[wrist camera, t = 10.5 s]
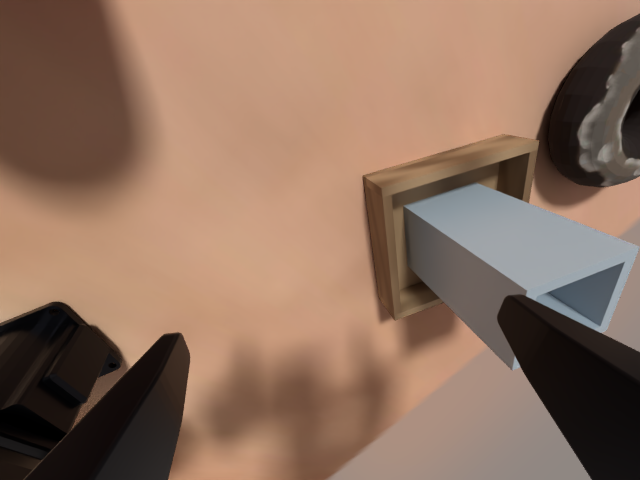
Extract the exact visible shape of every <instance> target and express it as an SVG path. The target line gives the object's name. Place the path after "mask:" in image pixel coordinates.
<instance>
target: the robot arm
mask: <svg viewBox="0 0 640 480" xmlns="http://www.w3.org/2000/svg"><path fill="white" fill-rule="evenodd" d="M53 309H56V310H58V311H54V310H53ZM497 321H498V324H499V326H500V328H501V330H502V332H503V334H504V336H505V338H506V340H507V342H508V344H509V346H510V347H511V349H512V351H513V353H514V355H515V357H516V359H517V361H518V363H519V365H520V367H521V368H522V370H523V372H524V374H525V375H526V377H527V379H528V380H529V382H530V384H531V385H532V387H533V388H534V390H535V391H536V393H537V395H538V396H539V398H540V399H541V401H542V402H543V404H544V406H545V407H546V409H547V410H548V412H549V413H550V415H551V417H552V418H553V420H554V421H555V423H556V424H557V426H558V428H559V429H560V431H561V432H562V434H563V435H564V437H565V438H566V440H567V442H568V443H569V445H570V446H571V448H572V449H573V451H574V453H575V454H576V456H577V457H578V459H579V460H580V462H581V464H582V465H583V467H584V468H585V470H586V471H587V473H588V475H589V476H590V478H591V479H592V480H640V352H638V351H636V350H634V349H632V348H630V347H628V346H626V345H624V344H622V343H620V342H618V341H616V340H614V339H612V338H610V337H608V336H606V335H604V334H602V333H600V332H598V331H596V330H594V329H592V328H590V327H588V326H586V325H584V324H582V323H580V322H578V321H576V320H573V319H571V318H569V317H567V316H565V315H563V314H561V313H559V312H557V311H555V310H553V309H551V308H549V307H547V306H545V305H543V304H541V303H539V302H537V301H535V300H533V299H531V298H529V297H527V296H525V295H522V294H515V295H508V296H506V297H505V298H504V300H503V302H502V305H501V307H500V309H499V312H498V314H497ZM114 363H115V364H114ZM121 363H122V359H121V358H120V357H119V356H118V355H117V354H116V353H115V352H114V351H113V350H112V349H111V348H110V347H109V346H108V345H107V344H106V343H105V342H104V341H103V340H102V339H100V338H99V337H98V336H97V335H96V334H95V333H94V332H93V331H92V330H91V329H90V328H89V327H88V326H87V325H86V324H85V323H84V322H83V321H82V320H81V319H79V318H78V317H77V316H76V315H75V314H74V313H73V312H72V311H71V310H70V309H69V308H68V307H67V306H66V305H65V304H63V303H61V302H51V303H49V304H46V305H44V306H41V307H39V308H36V309H34V310H32V311H29V312H27V313H24V314H22V315H19V316H17V317H14V318H12V319H9V320H7V321H5V322H2V323H0V480H168V477H169V473H170V469H171V465H172V461H173V456H174V452H175V448H176V444H177V440H178V436H179V432H180V427H181V423H182V417H183V410H184V403H185V395H186V387H187V380H188V372H189V365H190V353H189V350H188V347H187V345H186V342H185V340H184V337H183V335H182V334H181V333H179V332H177V333H168V334H164V335H163V336H161V337H160V338H159V339H158V340H157V341H156V342H155V343H154V344H153V345H152V347H151V348H150V349H149V350H148V351H147V352H146V353H145V354H144V355H143V356H142V357H141V358H140V359H139V360H138V361H137V362H136V363H135V364H134V365H133V366H132V367H131V368H130V369H129V370H128V371H127V373H126V374H125V375H124V376H123V377H122V378H121V379H120V380H119V381H118V382H117V383H116V384H115V385H114V386H113V387H112V388H111V389H110V390H109V391H108V392H107V393H106V394H105V395H104V396H103V397H102V398H101V400H100V401H99V402H98V403H97V404H96V405H95V406H94V407H93V408H92V409H91V410H90V411H89V412H88V413H87V414H86V415H85V416H84V417H83V418H82V419H81V420H80V421H79V422H78V423H77V424H76V426H75V427H74V428H73V429H72V426H73V424H74V422H75V420H76V418H77V415H78V413H79V411H80V409H81V407H82V404H84V403H86V402H87V401H88V398H89V396H90V394H91V392H92V389H93V387H94V385H95V383H96V381H97V378H99V377H101V376H103V375H106V374H108V373H110V372H112V371H115V370H117V369H119V368H120V366H121ZM71 429H72V430H71ZM59 441H60V442H59Z"/></svg>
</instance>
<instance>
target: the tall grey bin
mask: <svg viewBox="0 0 640 480" xmlns="http://www.w3.org/2000/svg"><path fill="white" fill-rule="evenodd" d="M403 210H404V223H405V237H406V250H407V263H408V267H409V268H410V269H411V270H412V271H413V272H414V273H415V274H416V275H417V276H418V277H419V278H420V279H421V280H422V281H423V282H424V283H425V284H426V285H427V286H428V287H429V288H430V289H431V290H432V291H433V292H434V293H435V294H436V295H437V296H438V297H439V298H440V299H441V300H442V301H443V302H444V303H445V304H446V305H447V306H448V307H449V308H450V309H451V310H452V311H453V312H454V313H455V314H456V315H457V316H458V317H459V318H460V319H461V320H462V321H463V322H464V323H465V324H466V325H467V326H468V327H469V328H470V329H471V330H472V331H473V332H474V333H475V334H476V335H477V336H478V337H479V338H480V339H481V340H482V341H483V342H484V343H485V344H486V345H487V346H488V347H489V348H490V349H491V350H492V351H493V352H494V353H495V354H496V355H497V356H498V357H499V358H500V359H501V360H502V361H503V362H504V363H505V364H506V365H507V366H508V367H509V368H510V369H511V370H515V369H517V368H519V367H520V365H519V363H518V361H517V359H516V357H515V355H514V353H513V351H512V349H511V347H510V346H509V344H508V342H507V340H506V338H505V336H504V334H503V332H502V330H501V328H500V326H499V324H498V321H497V314H498V312H499V309H500V307H501V305H502V302H503V300H504V298H505V297H506V296H508V295H515V294H522V295H525V296H527V297H529V298H531V299H533V300H535V301H537V302H539V303H541V304H543V305H545V306H547V307H549V308H551V309H553V310H555V311H557V312H559V313H561V314H563V315H565V316H567V317H569V318H571V319H573V320H576V321H578V322H580V323H582V324H584V325H586V326H588V327H590V328H592V329H594V330H596V331H598V332H600V333H601V332H604V331H606V330H607V328H608V325H609V323H610V320H611V318H612V315H613V312H614V310H615V308H616V305H617V303H618V300H619V298H620V295H621V293H622V290H623V288H624V285H625V283H626V280H627V278H628V275H629V272H630V270H631V268H632V265H633V262H634V260H635V257H636V255H637V252H638V250H639V246H637V245H634V244H632V243H629V242H626V241H624V240H621V239H619V238H616V237H614V236H611V235H609V234H606V233H603V232H601V231H598V230H596V229H593V228H591V227H588V226H586V225H583V224H580V223H578V222H575V221H573V220H570V219H568V218H565V217H563V216H560V215H557V214H555V213H552V212H550V211H547V210H545V209H542V208H540V207H537V206H534V205H532V204H529V203H527V202H524V201H522V200H519V199H517V198H514V197H511V196H509V195H506V194H504V193H501V192H499V191H496V190H494V189H491V188H488V187H486V186H483V185H481V184H478V183H476V182H474V183H471V184H468V185H465V186H462V187H459V188H456V189H453V190H450V191H447V192H444V193H441V194H438V195H434V196H431V197H428V198H425V199H422V200H419V201H416V202H413V203H410V204H407V205H404V206H403Z"/></svg>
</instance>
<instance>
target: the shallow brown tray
mask: <svg viewBox="0 0 640 480" xmlns="http://www.w3.org/2000/svg"><path fill="white" fill-rule="evenodd" d="M538 145H539V140H533V139H528V138H522V137H516V136H511V135H505V134H503V135H500V136H496V137H493V138H490V139H486V140H483V141H479V142H476V143H473V144H469V145H466V146H462V147H459V148H456V149H452V150H449V151H445V152H442V153H438V154H435V155H432V156H428V157H425V158H421V159H418V160H415V161H411V162H408V163H404V164H401V165H398V166H394V167H391V168H387V169H384V170H381V171H377V172H374V173H370V174H367V175H364V176H363V180H364V188H365V196H366V203H367V211H368V218H369V226H370V234H371V241H372V249H373V256H374V264H375V272H376V279H377V287H378V294H379V299H380V300H381V302H382V303H383V304H384V306H385V307H386V309H387V310H388V311H389V313H390V314H391V316H392V317H393V319H394V320H398V319H401V318H403V317H406V316H409V315H411V314H414V313H417V312H420V311H422V310H425V309H428V308H430V307H433V306H436V305H438V304H441V303H444V302H443V301H442V300H441V299H440V298H439V297H438V296H437V295H436V294H435V293H434V292H433V291H432V290H431V289H430V288H429V287H428V286H427V285H426V284H425V283H424V282H423V281H422V280H421V279H420V278H419V277H418V276H417V275H416V274H415V273H414V272H413V271H412V270H411V269H410V268H409V267H408V263H407V250H406V237H405V223H404V210H403V206H404V205H407V204H410V203H413V202H416V201H419V200H422V199H425V198H428V197H431V196H434V195H438V194H441V193H444V192H447V191H450V190H453V189H456V188H459V187H462V186H465V185H468V184H471V183H474V182H476V183H478V184H481V185H483V186H486V187H488V188H491V189H494V190H496V191H499V192H501V193H504V194H506V195H509V196H511V197H514V198H517V199H519V200H522V201H524V202H527V203H529V199H530V193H531V187H532V181H533V175H534V169H535V163H536V157H537V151H538Z"/></svg>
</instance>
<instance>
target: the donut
mask: <svg viewBox="0 0 640 480" xmlns="http://www.w3.org/2000/svg"><path fill="white" fill-rule="evenodd" d="M548 139H549V146H550V153H551V158H552V160H553V162H554V163H555V165H556V167H557V169H558V170H559V171H560V173H561V174H562V175H564V176H565V177H567V178H568V179H570V180H571V181H573V182H575V183H577V184H579V185H585V186H594V187H609V186H614V185H618V184H621V183H625V182H628V181H631V180H633V179H635V178H637V177H639V176H640V14H638V15H636V16H634V17H632V18H631V19H629V20H627V21H625V22H623V23H621V24H619V25H618V26H616V27H614V28H613V29H611V30H610V31H609V32H608V33H606V34H605V35H604V36H603V37H602V38H601V39H600V40H599V41H597V42H596V43H595V44H594V45H593V46H592V47H591V48H590V49H589V50H588V51H587V52H586V53H585V55H584V56H583V57H582V58H581V60H580V61H579V62H578V64H577V65H576V66H575V67H574V69H573V70H572V71H571V73H570V74H569V76H568V78H567V80H566V81H565V83H564V85H563V87H562V89H561V91H560V93H559V94H558V97H557V100H556V103H555V106H554V109H553V112H552V115H551V118H550V126H549V134H548Z"/></svg>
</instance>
